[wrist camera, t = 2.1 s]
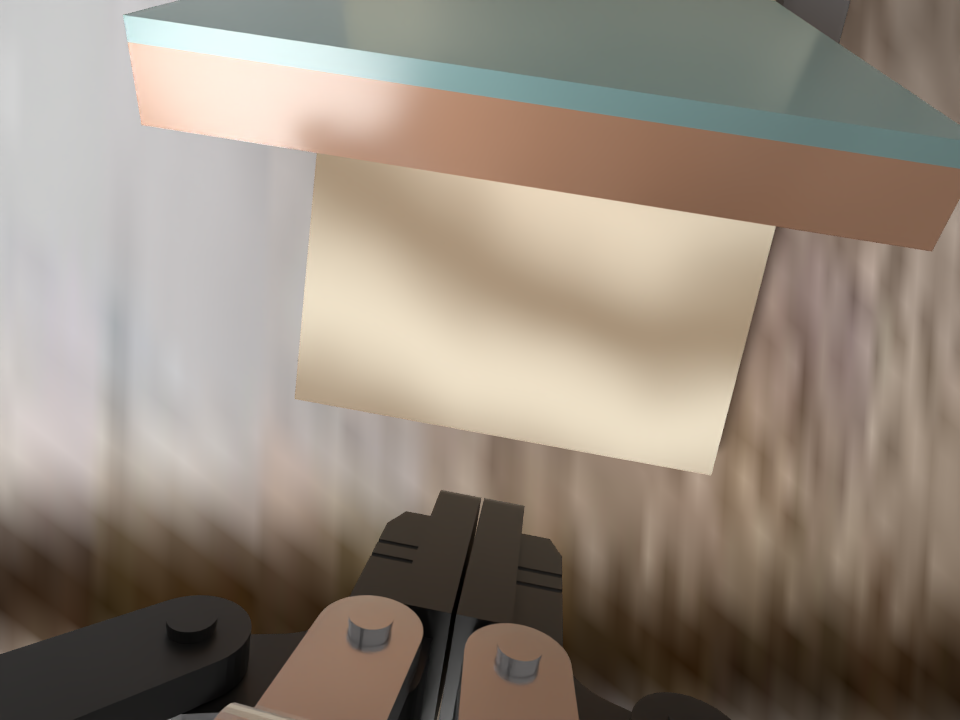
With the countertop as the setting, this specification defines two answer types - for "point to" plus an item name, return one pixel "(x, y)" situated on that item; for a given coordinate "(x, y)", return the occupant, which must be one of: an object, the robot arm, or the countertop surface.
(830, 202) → the tile
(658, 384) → the board
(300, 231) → the countertop surface
